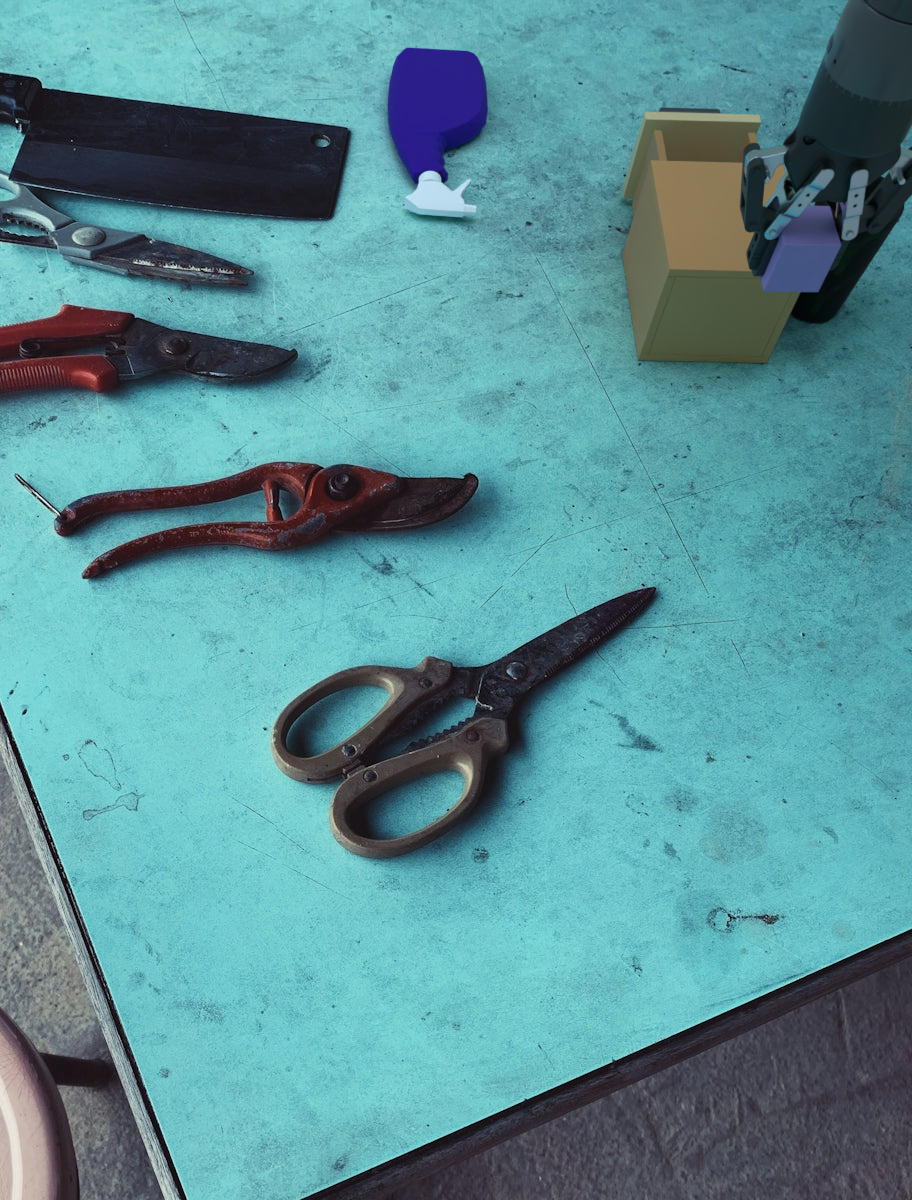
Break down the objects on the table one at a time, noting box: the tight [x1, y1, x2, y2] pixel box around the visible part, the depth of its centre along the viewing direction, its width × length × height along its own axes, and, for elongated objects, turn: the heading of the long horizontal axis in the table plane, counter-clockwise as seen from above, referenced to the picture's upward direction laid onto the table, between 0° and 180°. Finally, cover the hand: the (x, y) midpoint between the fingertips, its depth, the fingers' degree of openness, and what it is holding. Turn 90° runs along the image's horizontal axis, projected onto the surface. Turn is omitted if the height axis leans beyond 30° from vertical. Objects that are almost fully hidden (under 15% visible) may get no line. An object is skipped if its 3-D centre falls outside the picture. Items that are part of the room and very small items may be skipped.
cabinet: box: [621, 160, 800, 364], centre depth 114 cm, size 15×13×11 cm
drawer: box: [621, 106, 762, 217], centre depth 119 cm, size 18×11×9 cm, turn 0°
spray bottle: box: [387, 47, 489, 218], centre depth 128 cm, size 3×11×24 cm
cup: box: [790, 175, 905, 325], centre depth 114 cm, size 8×8×12 cm
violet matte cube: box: [760, 205, 841, 292], centre depth 95 cm, size 4×4×4 cm
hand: (787, 269), depth 97 cm, fingers closed on violet matte cube, 4 cm apart
